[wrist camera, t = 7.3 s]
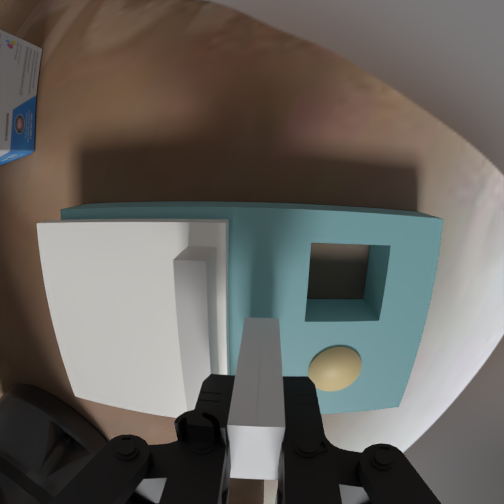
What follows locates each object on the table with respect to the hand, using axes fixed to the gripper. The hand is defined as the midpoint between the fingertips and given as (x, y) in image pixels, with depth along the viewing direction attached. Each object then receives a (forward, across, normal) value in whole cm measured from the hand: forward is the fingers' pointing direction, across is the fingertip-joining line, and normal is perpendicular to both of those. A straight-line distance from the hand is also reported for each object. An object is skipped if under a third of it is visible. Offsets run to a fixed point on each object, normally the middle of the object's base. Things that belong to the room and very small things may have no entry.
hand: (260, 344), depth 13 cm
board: (+5, -1, 0) cm, 5 cm away
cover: (+1, -7, 0) cm, 7 cm away
